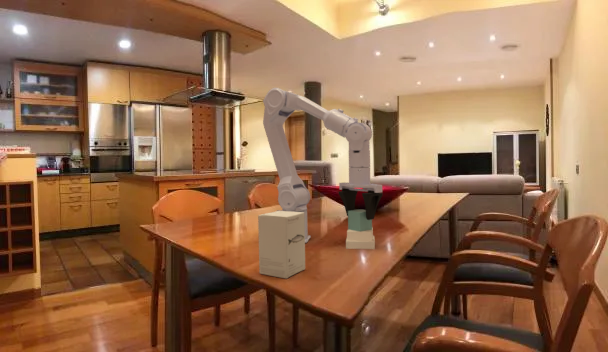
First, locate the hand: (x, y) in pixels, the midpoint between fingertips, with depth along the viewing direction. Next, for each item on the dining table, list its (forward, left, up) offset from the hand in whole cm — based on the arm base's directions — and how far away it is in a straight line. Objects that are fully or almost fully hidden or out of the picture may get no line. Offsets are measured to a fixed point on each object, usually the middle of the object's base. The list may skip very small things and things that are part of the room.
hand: (360, 217), depth 102 cm
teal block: (0, 0, -3) cm, 3 cm away
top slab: (0, 0, -6) cm, 6 cm away
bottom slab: (0, 0, -8) cm, 8 cm away
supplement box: (-16, -25, -8) cm, 31 cm away
